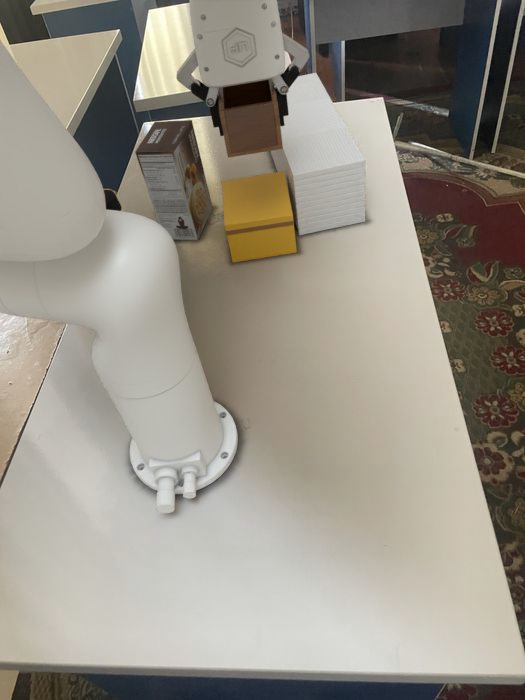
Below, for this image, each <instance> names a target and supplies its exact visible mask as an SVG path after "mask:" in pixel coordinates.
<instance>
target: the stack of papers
mask: <svg viewBox="0 0 525 700" xmlns="http://www.w3.org/2000/svg"><path fill="white" fill-rule="evenodd" d="M274 86H275V85H274ZM327 91H328V90H327V89H326V87H325V86H324V84H323V82H322V80H321V79H320V77H319V75H318V74H317V72H313V73H308V74H304V75H299V76H298V77H297V79H296V80H295V81H294V83H293V84H292V85H291V86H290V88H289V91H288V93H287V103H288V113H289V115H288V116H284V125H285V126H280V127H281V135H282V144H283V149H279V150H273V151H269V152H270V154H271V157H272V160H273V163H274V165H275V169H276V172H282V171H284V172H285V177H286V182H287V187H288V193H289V198H290V203H291V208H292V213H293V219H294V225H295V226H296V231H297V233H298V236H302V235H308V234H312V233H316V232H322V231H327V230H333V229H336V228H342V227H346V226H350V225H351V226H352V225H356V224H359V223H360V224H361V223H365V222H366V158H365V156H364V155H363V153H362V152H361V150H360V147H359V146H358V145H357V142H356V141H355V139H354V137H353V136H352V134H351V132H350V131H349V129H348V127H347V125H346V123H345V121H344V120H343V118H342V115H341V114H340V113H339V111H338V109H337V107H336V105H335V103H334V102H333V100H332V98H331V96H330V95H329V93H328V92H327Z"/></svg>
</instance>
